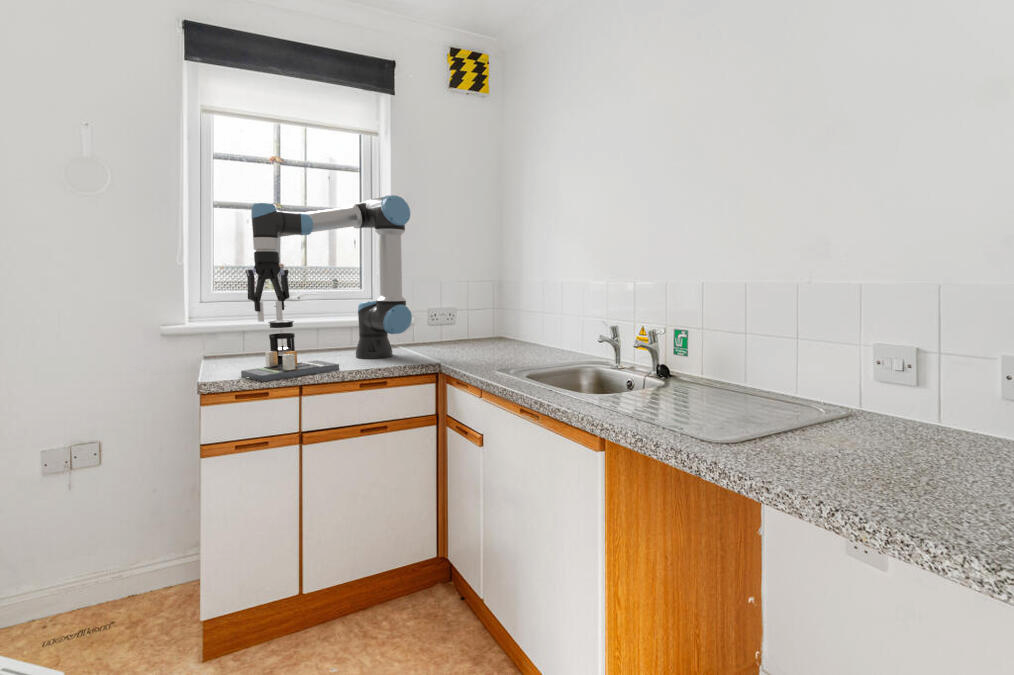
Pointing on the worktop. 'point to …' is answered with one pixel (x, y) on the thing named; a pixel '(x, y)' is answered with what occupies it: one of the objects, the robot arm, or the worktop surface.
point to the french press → (282, 336)
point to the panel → (289, 374)
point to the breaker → (295, 355)
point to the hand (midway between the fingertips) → (270, 320)
